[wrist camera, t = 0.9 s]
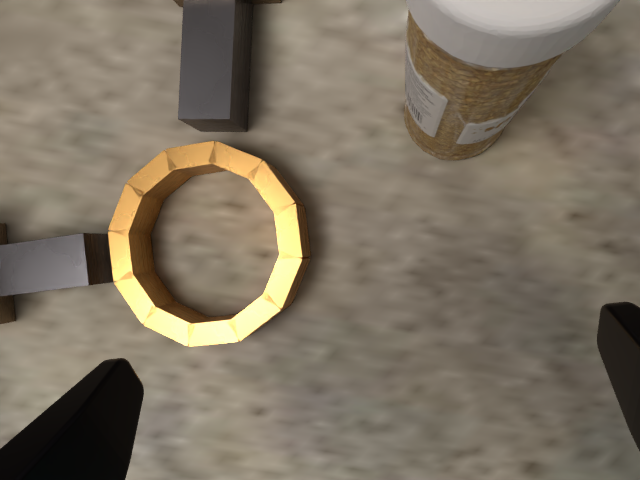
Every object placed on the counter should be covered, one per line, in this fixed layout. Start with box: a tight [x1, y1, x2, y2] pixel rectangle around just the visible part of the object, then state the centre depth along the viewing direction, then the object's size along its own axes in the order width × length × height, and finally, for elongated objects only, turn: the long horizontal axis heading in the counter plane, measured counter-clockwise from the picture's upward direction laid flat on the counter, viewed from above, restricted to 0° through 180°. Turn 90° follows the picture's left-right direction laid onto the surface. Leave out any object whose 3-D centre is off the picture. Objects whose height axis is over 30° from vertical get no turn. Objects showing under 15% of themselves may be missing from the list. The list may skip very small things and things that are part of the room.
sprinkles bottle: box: [404, 0, 620, 160], centre depth 15 cm, size 5×5×13 cm
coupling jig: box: [0, 0, 311, 347], centre depth 22 cm, size 17×25×4 cm
